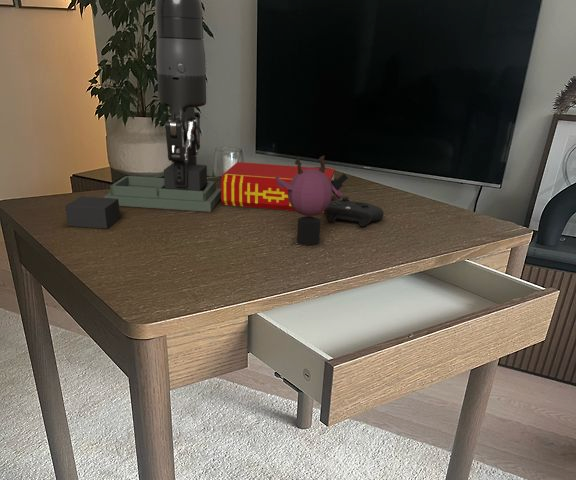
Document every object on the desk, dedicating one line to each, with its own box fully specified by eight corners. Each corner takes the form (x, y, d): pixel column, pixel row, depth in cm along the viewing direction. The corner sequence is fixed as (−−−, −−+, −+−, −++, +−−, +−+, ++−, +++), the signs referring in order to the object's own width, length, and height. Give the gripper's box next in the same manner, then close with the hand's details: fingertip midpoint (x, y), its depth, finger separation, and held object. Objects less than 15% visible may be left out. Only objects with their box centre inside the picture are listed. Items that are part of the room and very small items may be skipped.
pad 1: (67, 226, 90) (64, 205, 88) (83, 215, 95) (80, 196, 93) (107, 228, 89) (104, 208, 88) (120, 218, 94) (118, 198, 93)
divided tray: (104, 205, 101) (102, 186, 99) (124, 191, 109) (122, 174, 108) (210, 211, 100) (210, 193, 98) (221, 197, 108) (221, 180, 107)
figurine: (343, 239, 89) (350, 154, 83) (323, 254, 83) (330, 164, 77) (294, 231, 92) (298, 148, 86) (271, 244, 86) (273, 156, 80)
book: (221, 205, 103) (220, 175, 101) (237, 189, 114) (237, 162, 111) (326, 214, 101) (328, 184, 99) (332, 196, 112) (334, 169, 110)
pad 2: (164, 188, 100) (163, 169, 99) (173, 180, 106) (172, 163, 104) (199, 190, 100) (199, 172, 98) (207, 183, 105) (206, 165, 104)
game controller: (385, 213, 99) (382, 192, 94) (377, 242, 98) (373, 222, 93) (330, 206, 102) (324, 185, 97) (321, 233, 101) (315, 214, 96)
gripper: (169, 68, 100) (174, 172, 109) (144, 73, 88) (152, 190, 96) (214, 70, 100) (215, 175, 108) (194, 75, 88) (198, 193, 96)
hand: (186, 181), depth 102 cm, fingers closed on pad 2, 6 cm apart
